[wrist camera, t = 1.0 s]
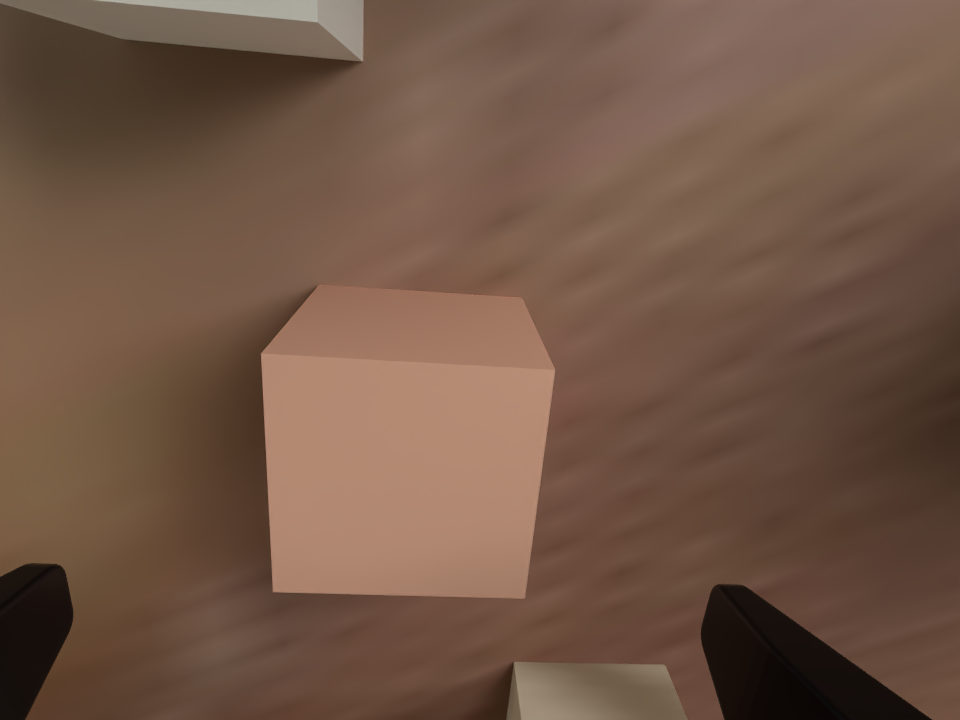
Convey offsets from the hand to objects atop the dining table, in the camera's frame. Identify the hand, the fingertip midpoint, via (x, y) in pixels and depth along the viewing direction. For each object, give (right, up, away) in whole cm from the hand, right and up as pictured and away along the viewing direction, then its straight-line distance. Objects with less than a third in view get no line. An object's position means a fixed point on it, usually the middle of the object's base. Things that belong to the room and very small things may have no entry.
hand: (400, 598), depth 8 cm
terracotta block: (-1, +3, +7) cm, 8 cm away
